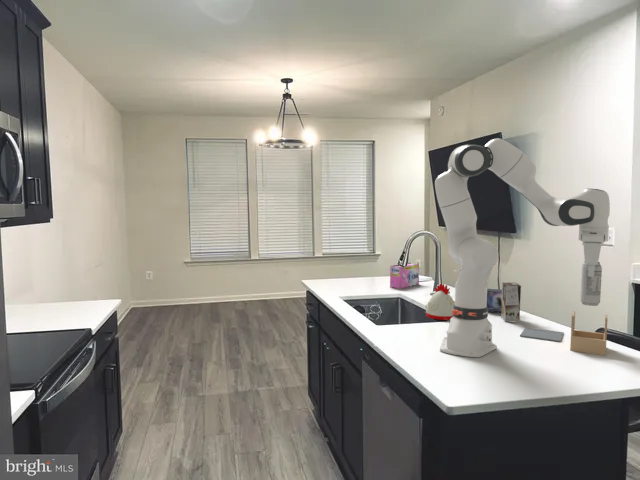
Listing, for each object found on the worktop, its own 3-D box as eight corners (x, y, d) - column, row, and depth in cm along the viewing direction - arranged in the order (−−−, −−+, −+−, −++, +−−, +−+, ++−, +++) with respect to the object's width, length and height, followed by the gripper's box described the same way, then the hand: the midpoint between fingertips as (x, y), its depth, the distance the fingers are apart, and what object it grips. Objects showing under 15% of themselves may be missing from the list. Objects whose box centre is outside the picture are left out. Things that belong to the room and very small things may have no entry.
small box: (482, 312, 221) (483, 290, 221) (483, 309, 227) (484, 288, 227) (506, 314, 217) (507, 292, 217) (506, 311, 223) (507, 289, 223)
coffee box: (520, 322, 202) (521, 285, 200) (504, 321, 203) (505, 285, 202) (515, 317, 210) (516, 282, 209) (500, 316, 212) (501, 281, 211)
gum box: (409, 282, 306) (410, 262, 306) (420, 284, 301) (420, 263, 300) (389, 287, 289) (389, 265, 288) (400, 289, 283) (400, 266, 282)
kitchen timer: (441, 321, 203) (442, 287, 202) (419, 315, 215) (420, 283, 214) (463, 317, 211) (464, 284, 210) (440, 311, 222) (441, 280, 221)
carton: (605, 355, 157) (607, 320, 156) (570, 350, 162) (571, 316, 162) (605, 347, 166) (607, 314, 165) (572, 342, 171) (573, 310, 171)
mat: (560, 342, 172) (560, 340, 172) (519, 336, 180) (520, 335, 179) (563, 333, 184) (563, 332, 184) (525, 328, 191) (525, 327, 191)
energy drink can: (596, 303, 165) (598, 261, 164) (602, 306, 159) (604, 263, 158) (577, 302, 167) (579, 260, 166) (583, 305, 161) (585, 262, 160)
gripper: (584, 234, 172) (582, 271, 173) (581, 236, 154) (579, 278, 155) (604, 234, 168) (601, 272, 169) (603, 237, 151) (601, 279, 152)
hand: (591, 275), depth 162 cm, fingers closed on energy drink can, 6 cm apart
